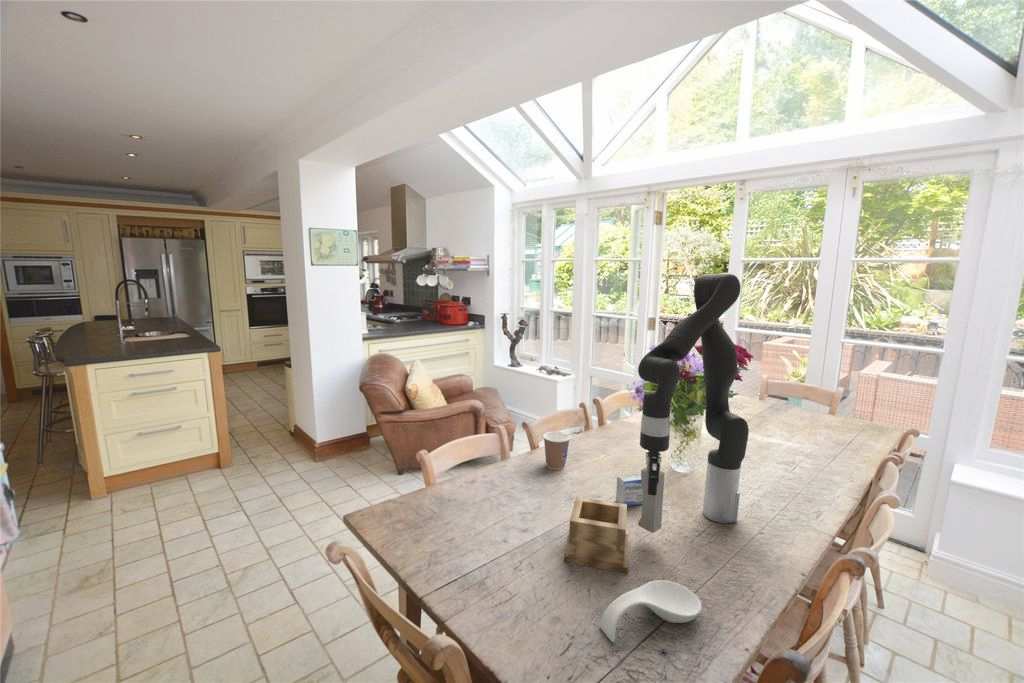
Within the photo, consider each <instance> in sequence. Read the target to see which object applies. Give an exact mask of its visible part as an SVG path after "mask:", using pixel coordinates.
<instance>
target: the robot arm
mask: <svg viewBox="0 0 1024 683" xmlns="http://www.w3.org/2000/svg"><path fill="white" fill-rule="evenodd" d="M693 286H694V287H693V296H694V304H695V308H696V311H694V312H692V313H691V314H690V315H687V316H686V317H684V319H682V320H681V321H679V322H678V323H677V324H676V325H675V326H674V327H673V328H672V329H671V331H670V332H669V333H668V334H667V336H666V337H665V339H664V340H663V341H662V342H661V343H660V344H658V345H656V346H655V347H654V348H653V349H651V350H650V351H649V352H648V353H646V354H645V355H644V356H643V357H642V359H641V360H640V362H639V364H638V368H637V372H638V376H639V378H640V379H641V380H643V381H645V382H647V383H652V384H655V385H657V388H656V390H650V391H647V392H645V393H644V395H643V399H642V411H641V412H642V413H641V414H642V415H641V419H640V434H639V435H640V436H639V446H640V447H641V448H642V449H644V450H646V451H645V465H646V467H647V472H648V494H649V495H654V496H655V495H656V493H657V484H658V482H659V473H660V471H661V463H662V453H663V452H667V451H668V450H669V447H670V438H671V437H670V434H671V402H672V399H673V397H674V394H675V392H676V391H675V390H676V388H677V385H678V382H679V380H680V374H681V372H680V367H679V365H678V363H677V362H678V361H682V360H684V359H686V358H687V356H688V355H689V353H690V352H691V350H692V349H693V347H695V345H696V344H697V342H698V341H699V340H700V341H701V351H702V352H701V353H702V356H701V357H702V365H703V366H702V368H703V375H704V389H705V415H704V416H705V421H704V422H705V423H704V424H705V428H706V431H707V434H709V435H710V436H711V437H712V438H714V439H715V440H718V441H719V444H718V448H717V449H712V450H710V451H709V452H708V453H707V462H706V463H707V464H706V465H707V466H706V473H705V484H704V494H703V503H702V504H703V505H702V514H703V515H704V517H706V518H707V519H709V520H711V521H713V522H716V523H721V524H732V523H737V521H738V514H739V505H740V495H741V494H740V492H739V486H740V476H741V469H742V468H741V467H742V462H743V461H744V459H745V457H746V452H747V445H748V440H749V432H750V428H749V423H748V422H747V421H746V420H745V418H743V417H741V416H739V415H737V414H735V413H732V412H731V411H730V406H729V391H730V389H731V387H732V385H733V383H734V381H735V379H736V377H737V374H738V355H737V354H738V353H737V349H736V346H735V344H734V342H733V340H732V338H731V337H730V335H729V334H728V333H727V331H726V329H725V328H724V327H723V326H722V323H721V322H720V321H721V320H720V318H721V316H723V315H724V314H725V313H726V312H727V311H728V310H729V309H731V307H732V306H733V305H734V304H735V303H736V301H737V300H738V298H739V297H740V294H741V289H742V288H741V281H740V279H739V278H738V276H736V275H735V274H732V273H727V272H726V273H724V272H723V273H708V274H707V273H706V274H701V275H699V276H698V277H697V278H696V280H695V282H694V285H693ZM651 476H656V478H652V477H651Z"/></svg>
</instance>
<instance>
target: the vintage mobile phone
mask: <svg viewBox="0 0 1024 683" xmlns="http://www.w3.org/2000/svg"><path fill="white" fill-rule="evenodd" d="M640 476H641V487H642V490H643V498H642V504H641V517H640V518H639V520H638V521H637V525H638V527H640V528H643V529H644V530H646V531H648V532H650V533H652V534H654V533H656V532H658V531H659V530H660V529H662V521H663V520H662V518H663V515H662V514H663V505H664V491H665V490H664V487H665V472H664V471H661V470H660V473H659V482H658V484H657V493H656V495H655V496H654V495H649V494H648V472H647V466H646V467H644V468H642V469H641V470H640ZM651 477H652V478H656V476H651Z"/></svg>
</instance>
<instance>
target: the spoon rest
mask: <svg viewBox="0 0 1024 683" xmlns="http://www.w3.org/2000/svg"><path fill="white" fill-rule="evenodd" d="M639 605H640V606H641V605H642V606H646V607H647V608H649V609H650V610H651V611H652V612H653V613H655V615H657V616H658V617H659V618H661V619H662V620H664V621H666V622H669V623H675V624H676V623H677V624H683V623H688V622H690V621H693V620H695V619H696V618H697V617H698V616H699V615H700V614H701V613H702V607H703V606H702V603H701V600H700V598H699V597H698V596H697V595H696V594H695V593H694V592H692V591H691V589H689V588H687V587H685V586H684V585H682V584H679V583H677V582H674V581H670V580H666V579H665V580H662V579H659V580H657V579H656V580H651V581H649V582H646V583H644V584H642V585H640V586H639V587H636V588H634V589H632V590H629V591H627V592H625V593H622V594H621V595H620V596H618V597H617V598H615V600H614V601H612V602H611V603H610V604H609V605H608V606H607V608H606V609H605V610H604V612H603V614H602V616H601V618H600V621H599V622H600V623H599V627H600V629H601V631H602V632H603V633H604V634H605V636H606V637H607V638H608V639H609V641H611V642H612V643H615V641H616V634H617V628H618V627H617V626H618V624H619V621H620V619H621V617H622V616H623V615H624V614H625V613H626V612H627V611H629V610H630V609H631V608H633V607H635V606H639Z"/></svg>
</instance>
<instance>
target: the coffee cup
mask: <svg viewBox="0 0 1024 683" xmlns="http://www.w3.org/2000/svg"><path fill="white" fill-rule="evenodd" d="M570 439H571V436H570V435H569V434H568V433H566V432H563V431H562V432H561V431H547V432H546V433H544V434H543V440H544V441H543V443H544V453H545V454H544V455H545V462H546V467H547V468H548V469H551V470H562V469H564V468H565V465H566V462H567V456H568V450H569V445H570Z"/></svg>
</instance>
